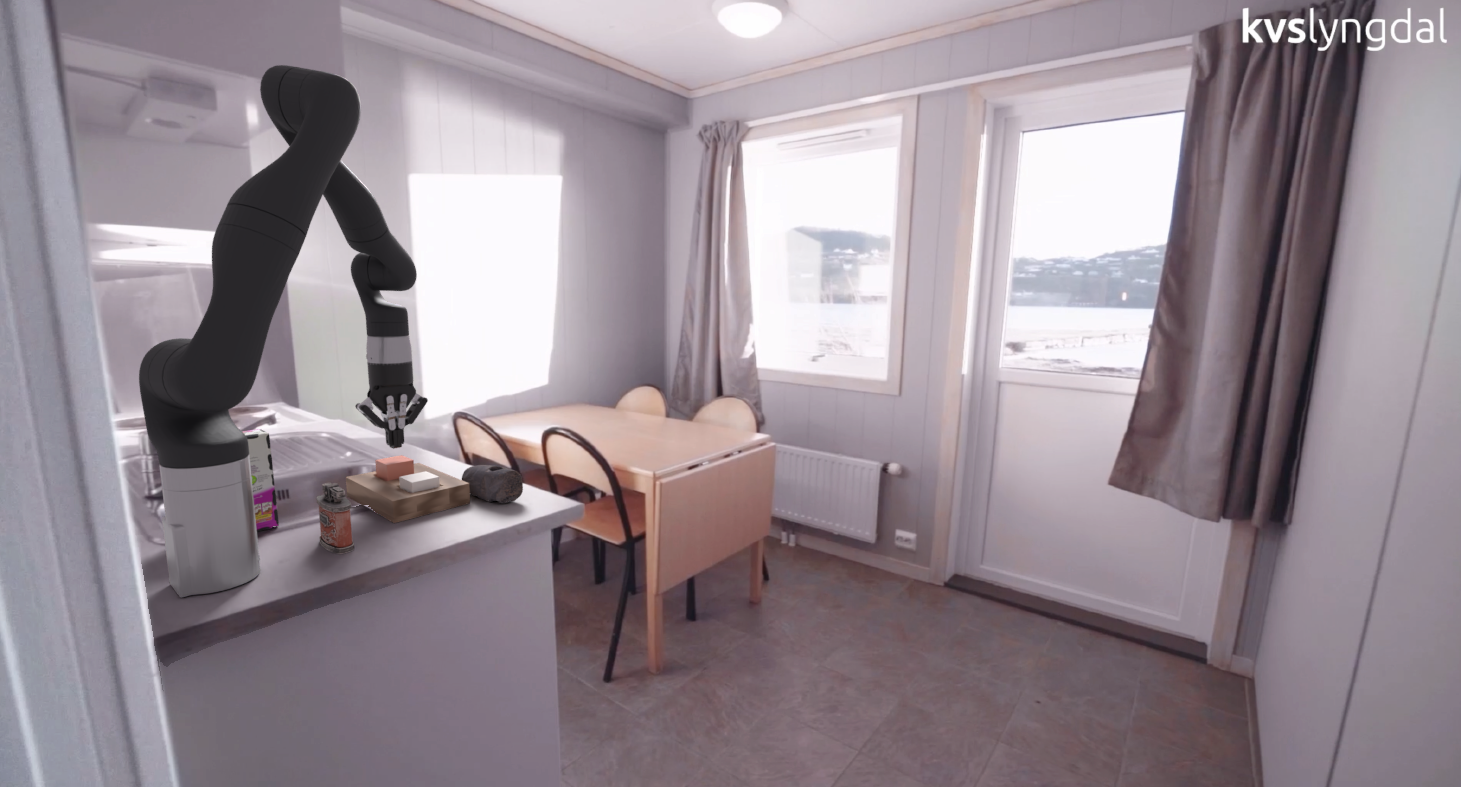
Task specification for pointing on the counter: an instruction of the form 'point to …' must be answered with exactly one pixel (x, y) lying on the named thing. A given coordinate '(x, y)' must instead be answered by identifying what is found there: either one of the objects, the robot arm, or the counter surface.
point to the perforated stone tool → (493, 483)
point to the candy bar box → (262, 479)
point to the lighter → (335, 519)
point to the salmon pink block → (394, 467)
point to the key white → (419, 482)
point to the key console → (407, 495)
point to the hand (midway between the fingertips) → (395, 447)
